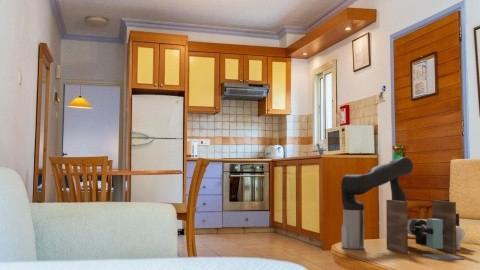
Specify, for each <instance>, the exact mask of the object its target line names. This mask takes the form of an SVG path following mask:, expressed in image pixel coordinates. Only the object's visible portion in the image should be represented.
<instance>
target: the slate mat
mask: <svg viewBox="0 0 480 270" xmlns="http://www.w3.org/2000/svg"><path fill="white" fill-rule="evenodd" d="M421 256H422V257H424V258H429V259H431V260H435V261H460V260H461V261H462V260H463V259H464V260H465V258H464V257H461V256H457V255H455V254H450V253H422V254H421Z"/></svg>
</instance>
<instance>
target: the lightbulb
mask: <svg viewBox="0 0 480 270" xmlns="http://www.w3.org/2000/svg"><path fill="white" fill-rule="evenodd" d="M464 237H465V230H464V228H463V227H462V226H460V225H459V226H456V250H458V251H461V243H462V241H463V239H464Z"/></svg>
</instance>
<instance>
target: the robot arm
mask: <svg viewBox="0 0 480 270" xmlns="http://www.w3.org/2000/svg"><path fill="white" fill-rule="evenodd" d="M413 170H414V163H413V162H412V160H411V159H410V158H409V157H406V156H402V157H398V158H395V159H392V160H391V161H389V162H388V163H384V164H379V165H376V166H374V167H372V168H370V169H369V170H368V172H367V173H365V174H345V175H343V177H342V179H341V184H340V185H341V187H340V190H341V203H342V209H343V210H342V211H343V212H342V214H343V215H342V217H343V221H342V222H343V223H342V225H341V248H344V249H350V250H362V249H363V250H364V249H365V210H364V209H365V204H364V203H363V202H361V201H359V200H357V199H356V196H360V195H361V196H362V195H364V194H366V193H368V192H369V191H371V190H373V189H374V188H377V187H379V186H383V185H385V184H387V183H389V185H390V190H391V191H390V192H391V193H390V194H391V200H395V201H404V202H407V196H406V194H405V192H404V190H403V188H402V187H401V186H400V181H399V180H400V177H404V176H407V175H409V174H411V173H412V171H413ZM444 233H445V230H444V229H443V234H444ZM426 234H434V230H433V229H430V228H427V227H426V220H424V219H419V218H410V217H409V216H408V235H411V236H414V237H415V236H419V237H424V236H426Z"/></svg>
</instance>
